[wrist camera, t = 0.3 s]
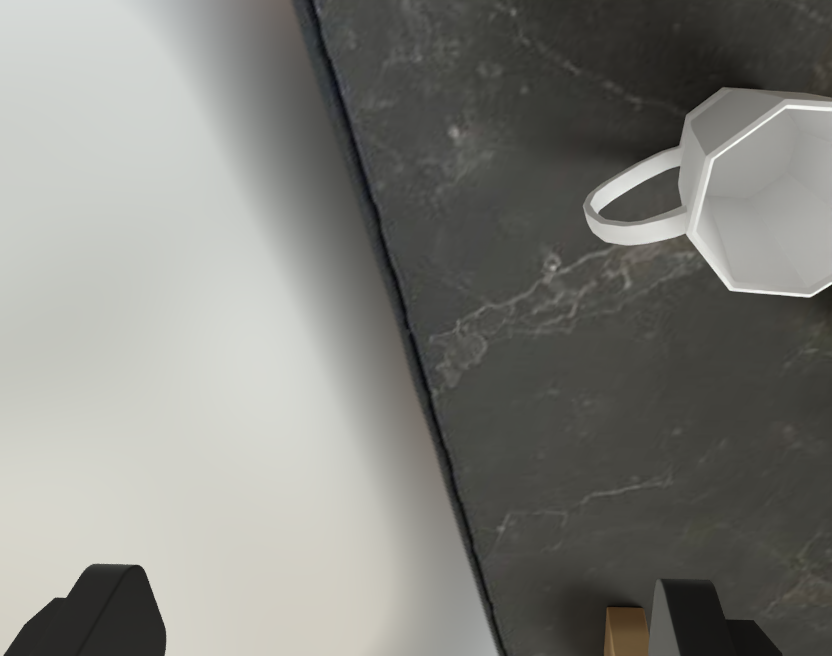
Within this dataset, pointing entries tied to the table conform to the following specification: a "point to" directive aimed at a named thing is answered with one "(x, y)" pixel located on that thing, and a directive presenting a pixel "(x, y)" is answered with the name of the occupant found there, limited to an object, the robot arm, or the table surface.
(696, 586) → the robot arm
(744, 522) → the table surface
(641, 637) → the knife
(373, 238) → the table surface
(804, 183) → the cup
